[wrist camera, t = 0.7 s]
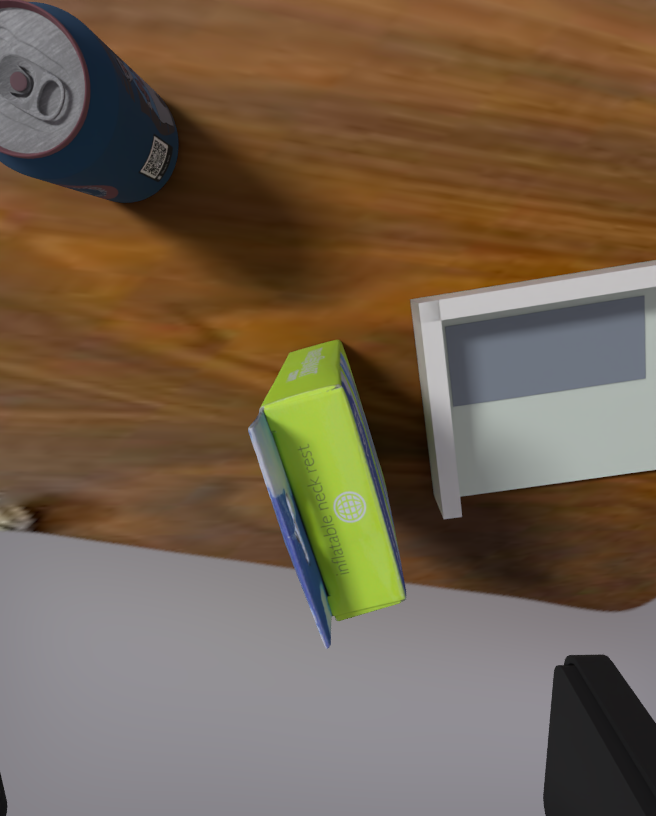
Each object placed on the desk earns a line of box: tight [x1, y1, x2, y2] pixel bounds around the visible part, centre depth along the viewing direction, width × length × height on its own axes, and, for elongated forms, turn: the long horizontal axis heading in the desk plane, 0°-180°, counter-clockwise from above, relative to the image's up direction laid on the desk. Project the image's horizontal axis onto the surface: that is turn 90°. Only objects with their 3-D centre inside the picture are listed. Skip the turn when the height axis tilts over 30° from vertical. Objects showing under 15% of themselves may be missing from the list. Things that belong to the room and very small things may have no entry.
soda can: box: [0, 0, 179, 203], centre depth 27 cm, size 7×7×12 cm
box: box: [248, 340, 406, 649], centre depth 29 cm, size 10×4×17 cm, turn 17°
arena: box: [410, 260, 656, 519], centre depth 35 cm, size 18×14×4 cm
